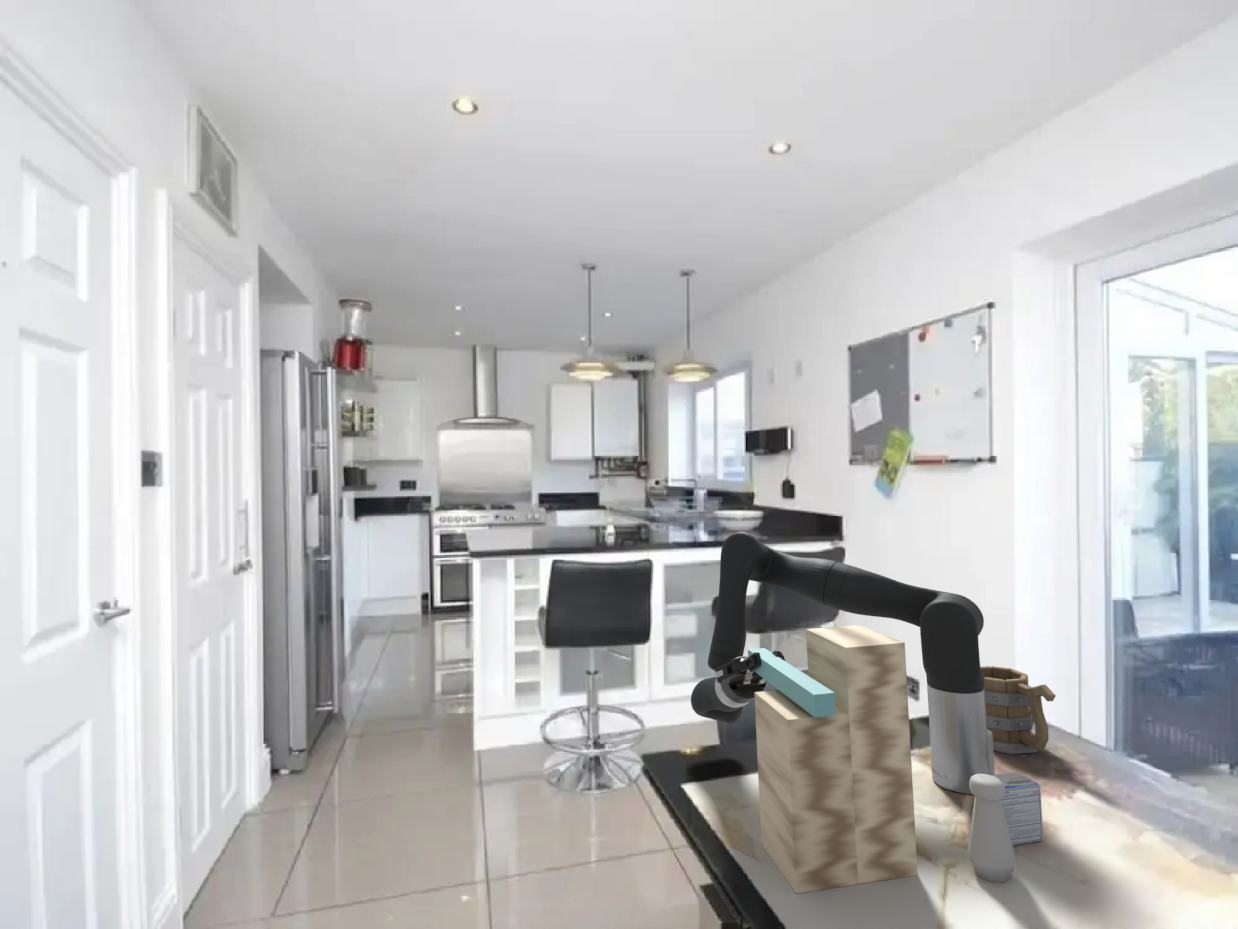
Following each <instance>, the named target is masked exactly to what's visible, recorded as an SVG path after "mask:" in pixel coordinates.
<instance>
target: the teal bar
mask: <svg viewBox="0 0 1238 929" xmlns="http://www.w3.org/2000/svg"><path fill="white" fill-rule="evenodd" d="M754 652H759V653H760V657H761V666H760V667H759V668H758V669H756V670H755V671H754V672H756V673H757V674H758V675H760V676H761V677H762V678H764V679H765V680H766V681H767V682H768V683H769V684H770V685H771V686H773V687H774V688H775V689H776V690H779V691H781V692H782V693H783V694H785V695H786V696H787V697H789V698H790V699H791V700H793V701H794V702H795V703H796V704H798V705H799V706H800V707H802V708H803V709H804V710H806V711H807V712H808V713H810V714H811V715H812V716H814V717H825V716H834V715H836V709H835V693H834V692H833V691H831V690H830V689H828V688H826V687H825V686H823V685H822V684H820V683H819V682H817V681H815V680H814V679H812V678H811V677H809V676H808V674H806V673H804V672H802V671H801V670H800V669H798V668H796V667H795V666H793V665H792V664H790V663H789V662H787V661H786V660H785V661H784V660H782V659H781V658H779V657H777V656H776V655H774V654H773V653H772V652H771V651H770V650H768V649H767V648H765V647H762V648H750V649H749V648H748V649H747V657H749V656H751V655H752V654H753V653H754Z"/></svg>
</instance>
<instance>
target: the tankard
mask: <svg viewBox="0 0 1238 929" xmlns="http://www.w3.org/2000/svg"><path fill="white" fill-rule="evenodd" d="M980 667H981V671H982V673H983V675H984V689H985V706H986V721H987V729H988V730H990V731H991V732H992V735H993V751H994V752H997V753H1003V754H1006V755H1007V754H1008V755H1019V754H1022V755H1023V754H1033V753H1034V754H1035V753H1037V752H1038V751H1042V750H1045V748H1046V746H1047V744H1048V741H1049V726H1048V723H1047V720H1046V717H1045V714H1044V710H1043V701H1042V697H1043V698H1044V699H1045V701H1047V702H1054V700H1055V698H1056V694H1055V693H1054V692H1053V691H1052V690H1051V689H1050V688H1049V687H1048V686H1047V685H1046V684H1040V685H1036V686H1031V685H1029V674H1027V673H1025V672H1021V671H1019V670H1016V669H1014V668H1007V667H1002V666H994V665H992V666H990V665H984V666H980ZM1033 726H1034V727H1035V728H1034V729H1035V732H1033V731H1032V728H1033Z"/></svg>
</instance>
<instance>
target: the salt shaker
mask: <svg viewBox="0 0 1238 929" xmlns="http://www.w3.org/2000/svg"><path fill="white" fill-rule="evenodd" d="M969 787H970V791H971V793H972V794H971V795H973V796H974V802H973V809H972V816H971V824H970V829H969V835H968V836H969V837H968V843H967V850H966V852H967V855H968V858H969V859H970V862H971V863H972V864H971V865H973V868H974V869H975V873H976V874H977V875H978V876H980V877H982V878H983V879H985V880H988V881H989V882H995V883H997V882H998V883H1006V882H1007V881H1008V879H1009V878H1010V877H1011V876H1012V875H1011V874H1012V873H1013V871H1014V870H1015V868H1016V862H1017V858H1016V855H1015V851H1014V845H1012V842H1011V838H1010V834H1009V830H1008V826H1007V822H1006V818H1005V814H1004V810H1003V806H1002V803H1001V800H1002V799H1004V796H1005V787H1004V784H1003V783H1002V782H1001V781H1000V780H999V779H998V778H996V777H994V776H991V775H988V774H975V775H973V776H972V777H971V778H970V782H969Z"/></svg>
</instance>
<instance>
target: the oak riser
mask: <svg viewBox="0 0 1238 929" xmlns="http://www.w3.org/2000/svg"><path fill="white" fill-rule="evenodd" d="M805 635H806V636H805V637H806V639H805V640H806V657H807V658H806V659H807V675H808V676H809V677H811V678H812V679H814V680H815V681H817V682H819V683H820V684H822V685H823V686H825V687H826V688H828V689H830V690H831V691H833V692H834V693H835V709H836V715H834V716H825V717H814V716H812V715H811V714H810V713H808V712H807V711H806V710H804V709H803V708H802V707H800V706H799V705H798V704H796V703H795V702H794V701H793V700H791V699H790V698H789V697H787V696H786V695H785V694H783V693H782V692H781V691H779V690H778V689H774V690H763V691H762V692H754V694H755V699H754V708H755V710H754V711H755V712H754V713H755V715H754V716H755V730H756V732H755V734H756V736H755V737H756V752H757V753H756V754H757V777H758V779H757V780H758V796H759V798H758V799H759V817H760V818H759V820H760V822H759V823H760V839H761V841H760V842H761V846H762V847H763V848H764V850H765V851H766V853H767V854H768V855H769V857H770V859H772V861H773V862H774V864H775V865H776V867H777V869H778V870H779V871H780V873H781V874H782V876H783V877H784V878H785V880H786V881H787V883H788V884H789V885H790V887H791V888H792V890H793V891H794V893H795V894H802V893H811V892H815V891H822V890H829V889H834V888H840V887H846V886H854V885H860V884H867V883H872V882H880V881H887V880H891V879H898V878H905V877H912V876H913V877H914V876H918V875H919V874H918V856H917V842H916V841H917V838H916V836H917V835H916V822H915V804H914V786H913V785H914V784H913V782H914V781H913V767H912V750H911V749H912V748H911V731H910V716H909V715H910V714H909V695H908V679H907V678H908V676H907V661H906V660H907V658H906V645H905V644H906V643H905V642H904V641H902V640H898V639H896V638H893V637H890V636H888V635H886V634H884V633H881V632H878V631H876V630H873V629H871V628H868V627H865V626H863V625H859V624H853V625H839V626H827V627H817V628H816V627H815V628H814V627H813V628H806V629H805Z"/></svg>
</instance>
